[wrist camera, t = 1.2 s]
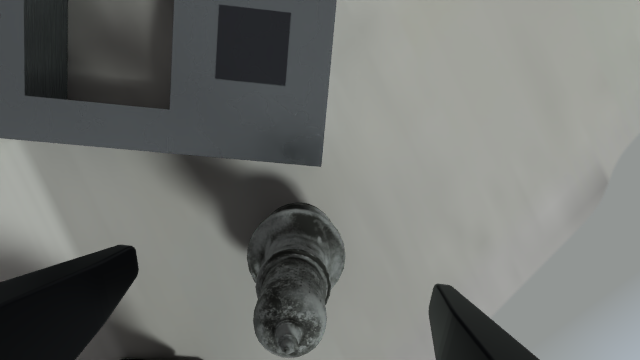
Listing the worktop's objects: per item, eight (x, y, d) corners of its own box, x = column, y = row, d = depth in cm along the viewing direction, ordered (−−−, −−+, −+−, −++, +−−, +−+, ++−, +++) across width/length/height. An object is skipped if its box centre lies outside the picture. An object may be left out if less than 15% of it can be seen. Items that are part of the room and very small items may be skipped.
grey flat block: (319, 163, 21) (321, 166, 18) (19, 137, 20) (-33, 135, 17) (337, -34, 20) (342, -68, 17) (17, -74, 19) (-40, -117, 16)
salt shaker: (270, 287, 22) (225, 456, 10) (246, 211, 21) (168, 292, 9) (348, 266, 22) (396, 407, 10) (327, 189, 21) (352, 241, 9)
